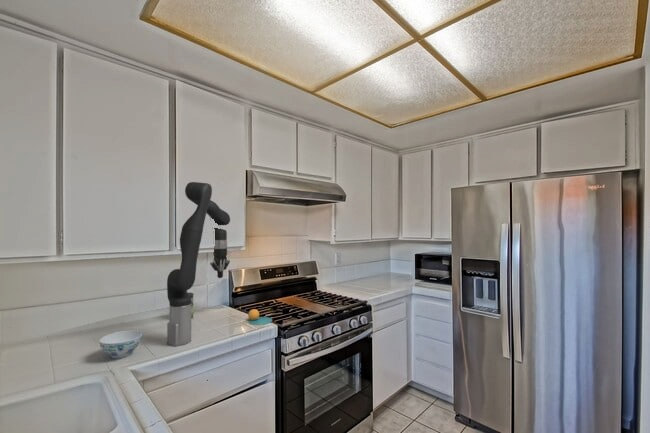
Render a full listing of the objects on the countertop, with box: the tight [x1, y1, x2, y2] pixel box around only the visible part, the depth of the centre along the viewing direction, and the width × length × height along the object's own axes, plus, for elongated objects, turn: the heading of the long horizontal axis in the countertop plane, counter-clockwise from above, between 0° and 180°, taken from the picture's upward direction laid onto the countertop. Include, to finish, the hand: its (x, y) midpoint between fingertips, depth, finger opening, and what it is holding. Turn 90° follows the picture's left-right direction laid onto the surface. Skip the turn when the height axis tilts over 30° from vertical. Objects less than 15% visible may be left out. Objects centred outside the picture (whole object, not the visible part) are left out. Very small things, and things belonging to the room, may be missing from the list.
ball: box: [247, 308, 260, 320], centre depth 174 cm, size 6×6×6 cm
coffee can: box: [188, 292, 195, 320], centre depth 176 cm, size 10×10×14 cm
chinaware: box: [98, 329, 143, 359], centre depth 129 cm, size 15×15×8 cm
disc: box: [248, 316, 273, 326], centre depth 173 cm, size 13×13×1 cm
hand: (220, 277), depth 179 cm, fingers closed
